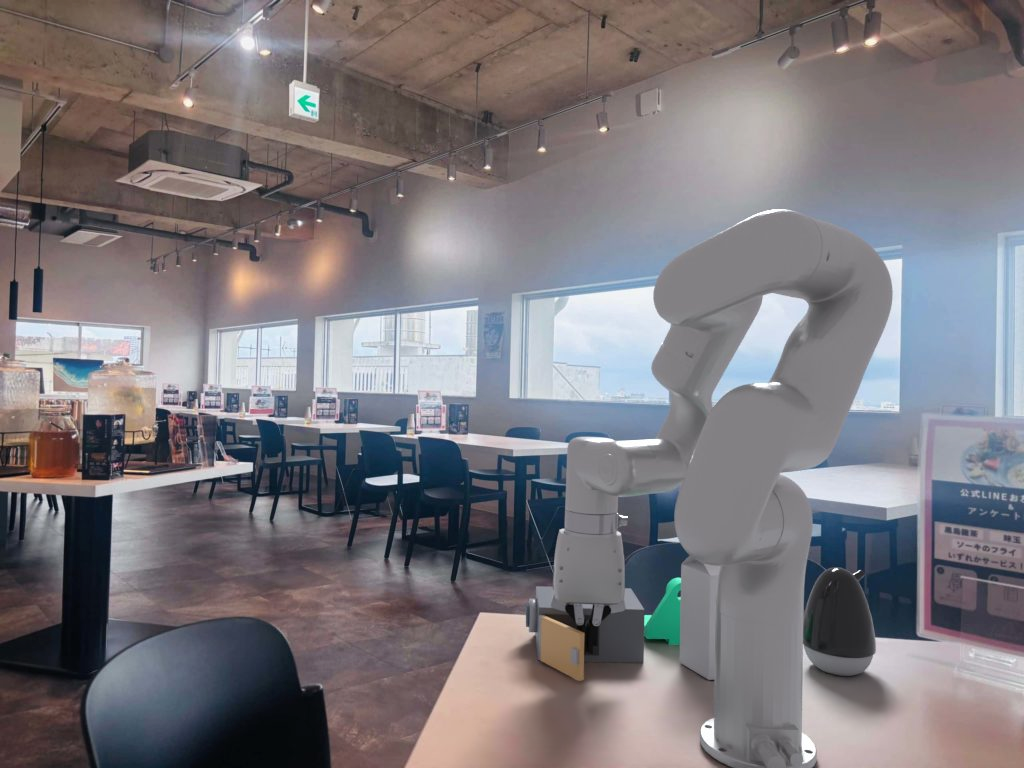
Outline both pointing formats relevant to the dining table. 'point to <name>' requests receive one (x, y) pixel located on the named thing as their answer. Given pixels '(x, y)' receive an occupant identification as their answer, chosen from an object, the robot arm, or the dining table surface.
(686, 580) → the milk carton
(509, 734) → the dining table surface
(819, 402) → the robot arm
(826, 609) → the black and white egg
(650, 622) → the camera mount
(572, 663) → the tan cabinet door
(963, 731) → the dining table surface
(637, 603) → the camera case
